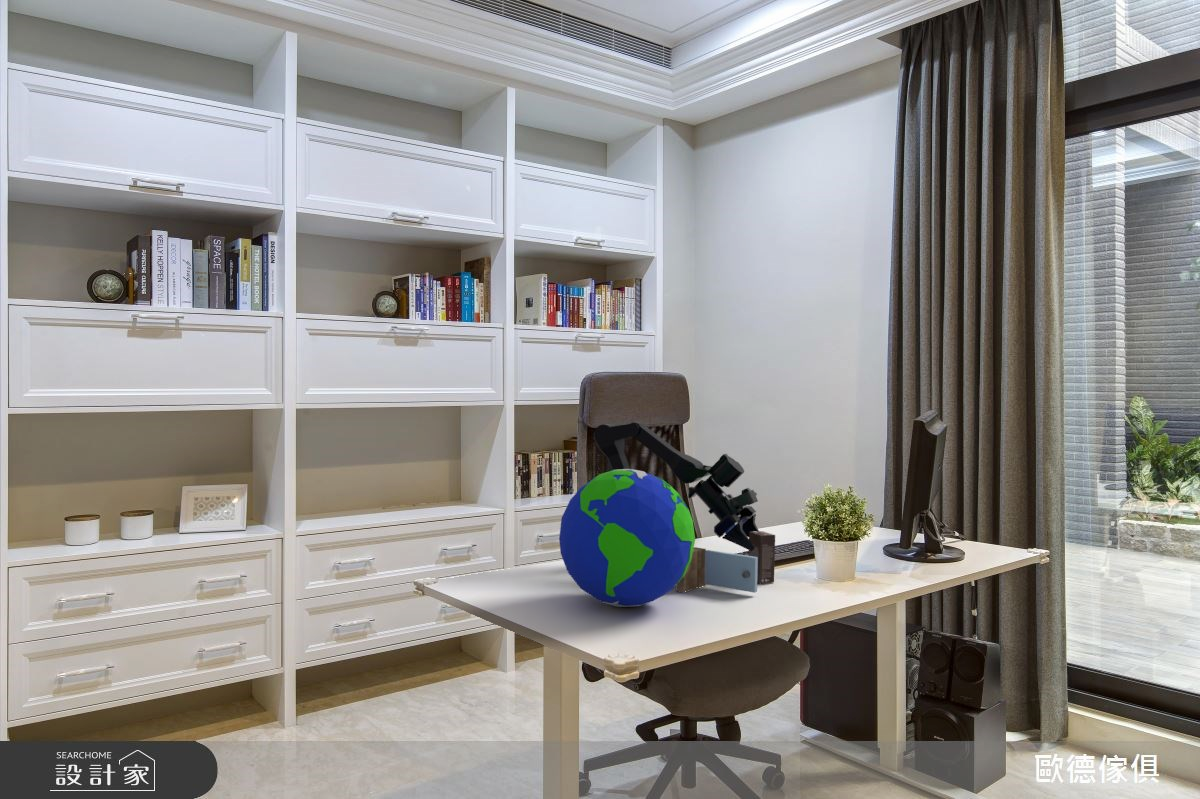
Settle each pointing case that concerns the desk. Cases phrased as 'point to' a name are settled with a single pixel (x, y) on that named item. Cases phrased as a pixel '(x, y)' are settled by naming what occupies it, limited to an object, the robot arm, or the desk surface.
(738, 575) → the door
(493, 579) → the desk surface
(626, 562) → the globe
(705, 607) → the desk surface
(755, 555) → the box
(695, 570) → the doorframe
